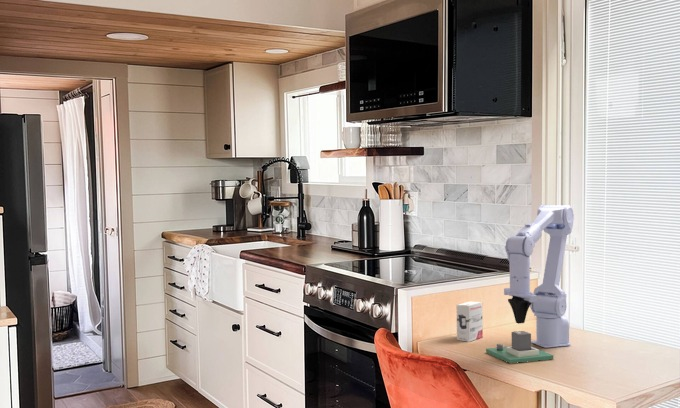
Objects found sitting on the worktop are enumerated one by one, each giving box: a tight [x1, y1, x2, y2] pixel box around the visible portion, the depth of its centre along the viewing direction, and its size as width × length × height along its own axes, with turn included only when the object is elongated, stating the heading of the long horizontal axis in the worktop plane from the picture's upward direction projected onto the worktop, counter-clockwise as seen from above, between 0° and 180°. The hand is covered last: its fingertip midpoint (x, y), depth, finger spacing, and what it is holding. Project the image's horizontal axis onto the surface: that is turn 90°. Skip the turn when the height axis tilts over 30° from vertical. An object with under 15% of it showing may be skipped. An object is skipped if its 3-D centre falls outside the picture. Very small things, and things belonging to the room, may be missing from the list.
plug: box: [511, 330, 532, 351], centre depth 200 cm, size 4×4×6 cm
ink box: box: [456, 300, 484, 343], centre depth 225 cm, size 8×5×12 cm, turn 137°
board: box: [485, 343, 554, 364], centre depth 203 cm, size 14×14×3 cm
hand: (520, 322), depth 202 cm, fingers closed
